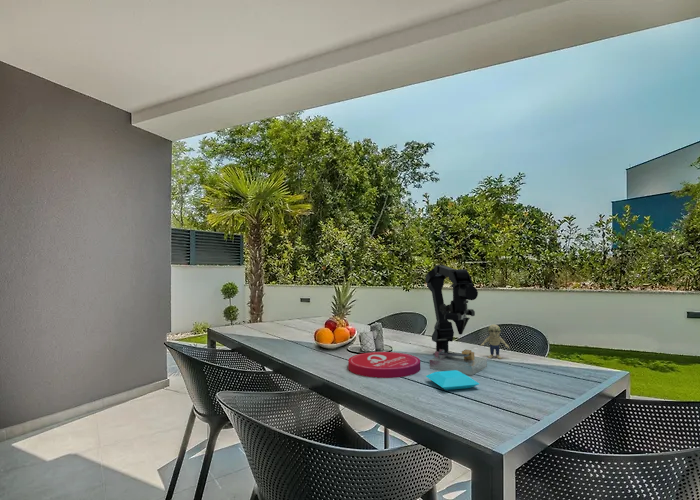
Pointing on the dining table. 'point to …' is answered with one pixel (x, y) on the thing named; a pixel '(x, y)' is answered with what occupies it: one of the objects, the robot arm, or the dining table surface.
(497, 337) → the toy
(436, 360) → the grey piece
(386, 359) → the sign
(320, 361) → the dining table surface
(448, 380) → the prism
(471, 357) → the tab
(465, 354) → the strap
